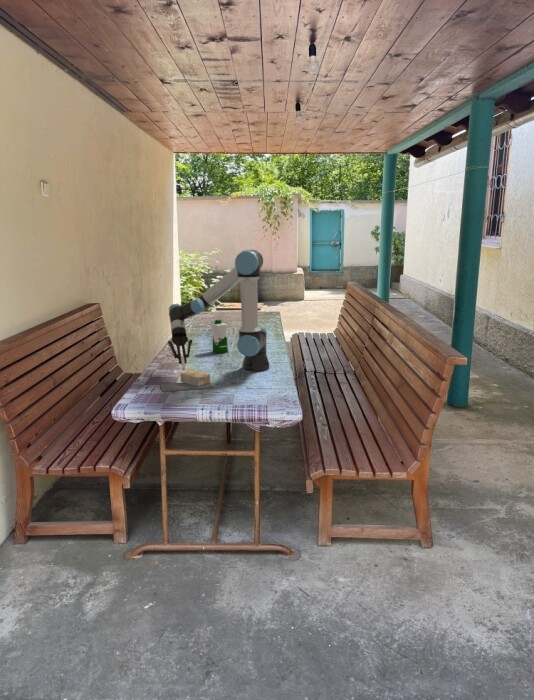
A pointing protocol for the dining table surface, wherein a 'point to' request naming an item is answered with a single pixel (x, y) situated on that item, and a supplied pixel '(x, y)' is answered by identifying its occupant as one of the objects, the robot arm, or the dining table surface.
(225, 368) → the dining table surface
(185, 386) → the rubber mat
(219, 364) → the dining table surface
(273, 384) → the dining table surface
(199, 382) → the supplement box
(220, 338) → the milk carton
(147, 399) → the dining table surface
